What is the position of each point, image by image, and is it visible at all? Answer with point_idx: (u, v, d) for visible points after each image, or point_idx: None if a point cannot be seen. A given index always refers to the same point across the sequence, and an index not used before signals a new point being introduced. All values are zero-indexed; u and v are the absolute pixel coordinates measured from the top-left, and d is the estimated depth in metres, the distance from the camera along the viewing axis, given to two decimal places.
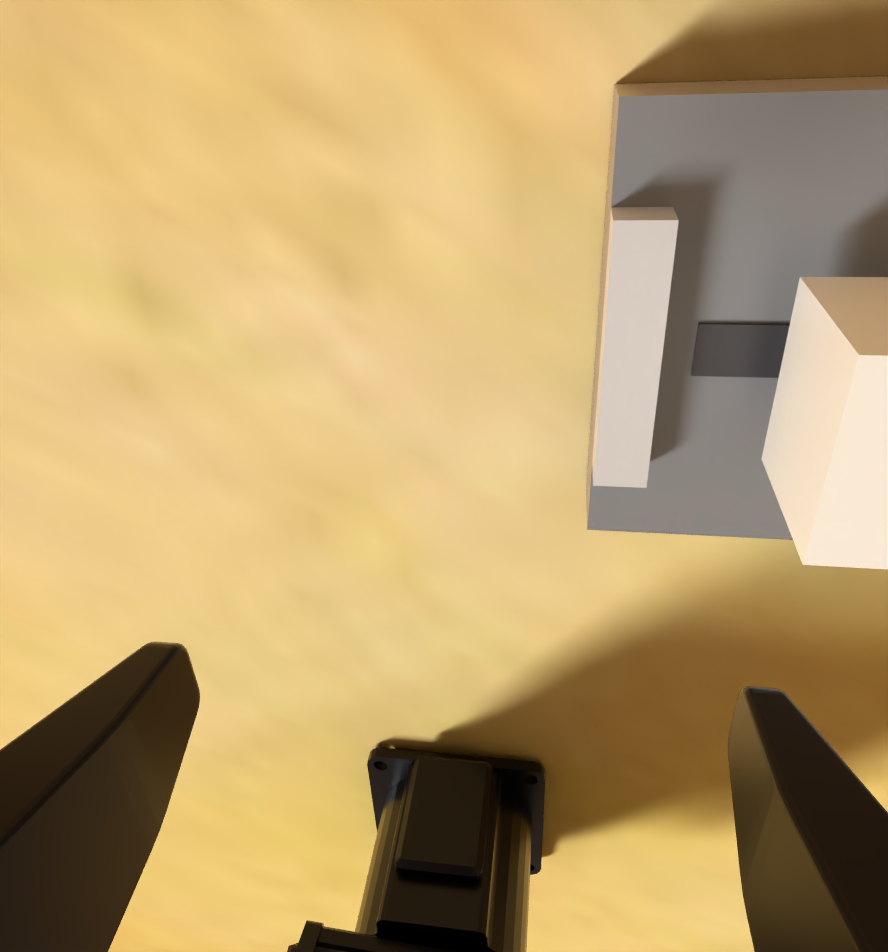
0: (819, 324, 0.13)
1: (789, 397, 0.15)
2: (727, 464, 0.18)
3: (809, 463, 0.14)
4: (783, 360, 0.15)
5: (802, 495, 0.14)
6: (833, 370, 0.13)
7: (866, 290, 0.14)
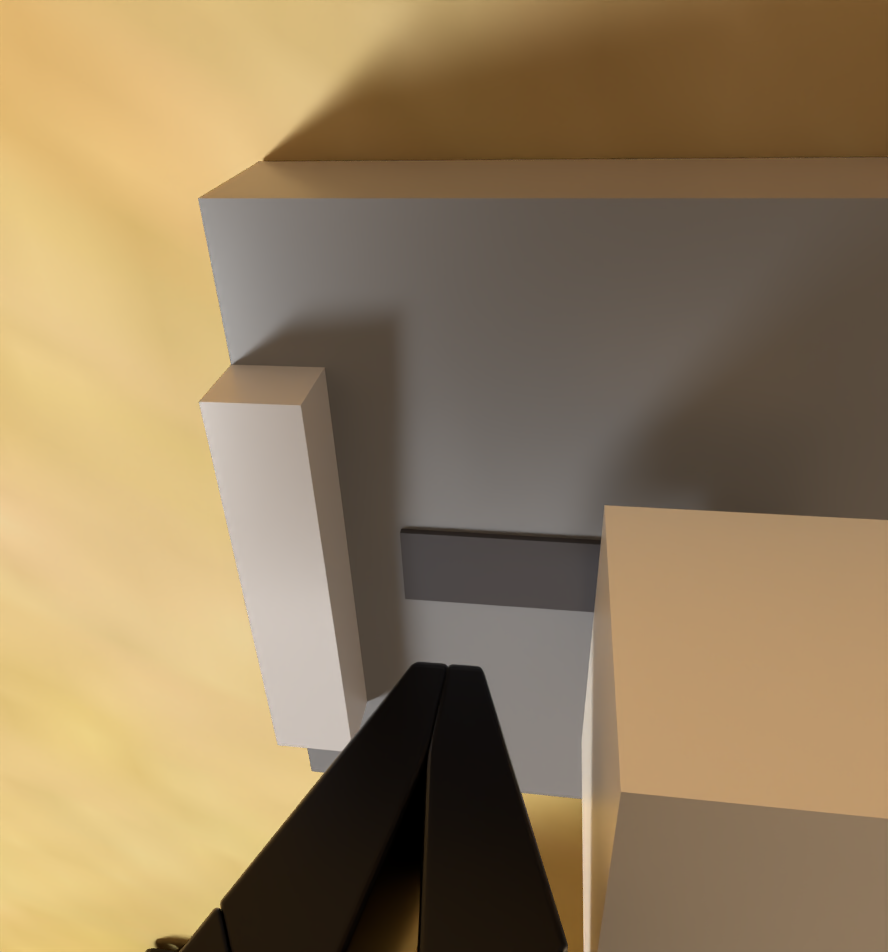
0: (607, 629, 0.07)
1: (592, 698, 0.09)
2: None
3: (593, 868, 0.08)
4: (593, 621, 0.09)
5: (589, 907, 0.08)
6: (608, 752, 0.07)
7: (704, 551, 0.08)
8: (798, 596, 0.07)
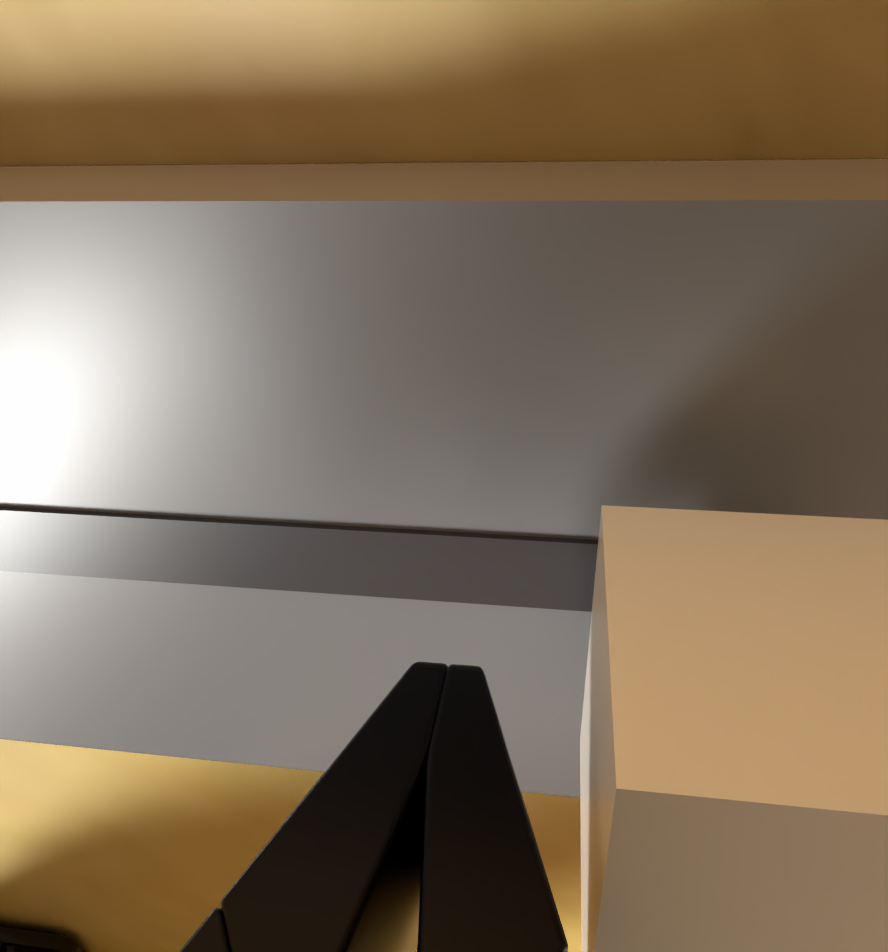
0: (603, 628, 0.07)
1: (590, 696, 0.09)
2: None
3: (590, 865, 0.08)
4: (591, 620, 0.09)
5: (586, 904, 0.08)
6: (605, 750, 0.07)
7: (700, 551, 0.08)
8: (793, 595, 0.07)
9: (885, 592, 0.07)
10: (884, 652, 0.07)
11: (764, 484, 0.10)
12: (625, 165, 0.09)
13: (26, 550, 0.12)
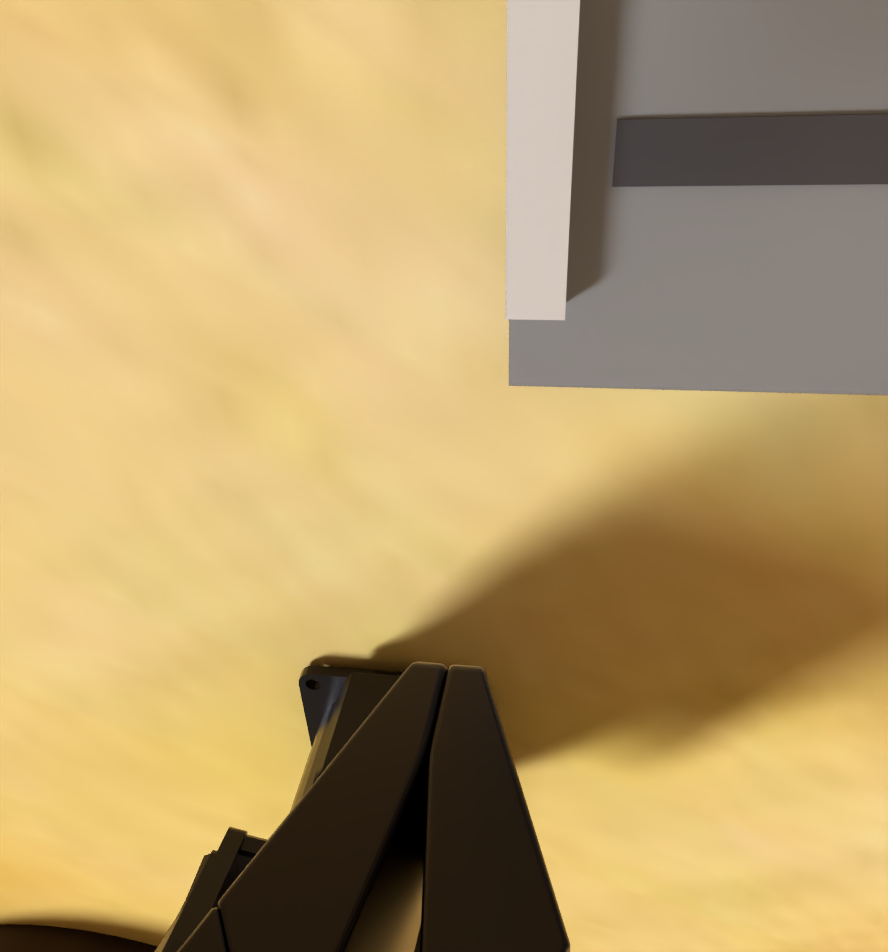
0: None
1: None
2: (657, 298, 0.16)
3: None
4: None
5: None
6: None
7: None
8: None
9: None
10: None
11: None
12: None
13: (768, 160, 0.14)
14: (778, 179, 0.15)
